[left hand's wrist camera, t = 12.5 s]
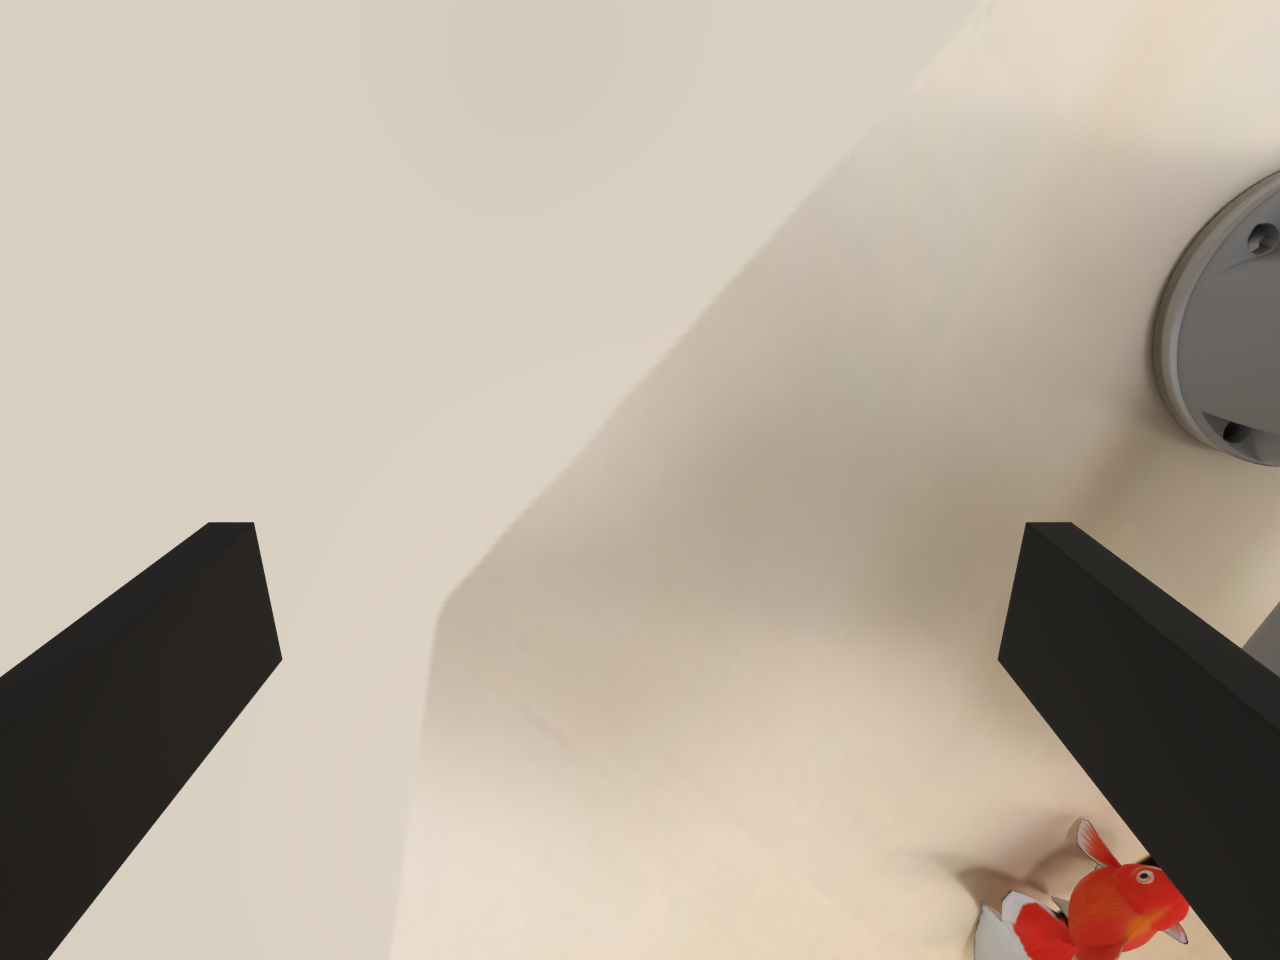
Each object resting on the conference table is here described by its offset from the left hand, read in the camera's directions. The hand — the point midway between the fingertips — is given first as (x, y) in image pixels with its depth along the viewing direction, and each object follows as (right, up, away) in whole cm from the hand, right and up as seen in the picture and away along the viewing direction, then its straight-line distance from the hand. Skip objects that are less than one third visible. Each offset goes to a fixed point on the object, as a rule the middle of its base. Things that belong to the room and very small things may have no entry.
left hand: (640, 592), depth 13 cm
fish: (+28, -26, +39) cm, 55 cm away
